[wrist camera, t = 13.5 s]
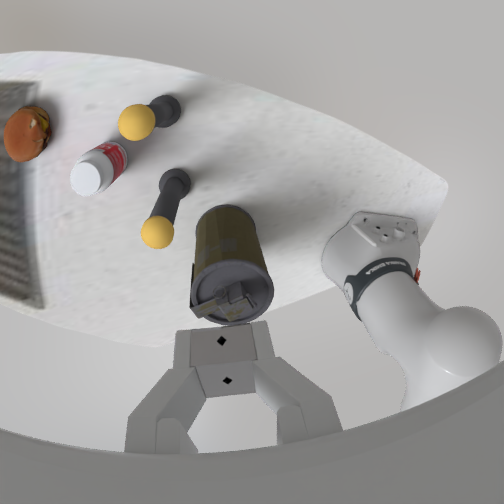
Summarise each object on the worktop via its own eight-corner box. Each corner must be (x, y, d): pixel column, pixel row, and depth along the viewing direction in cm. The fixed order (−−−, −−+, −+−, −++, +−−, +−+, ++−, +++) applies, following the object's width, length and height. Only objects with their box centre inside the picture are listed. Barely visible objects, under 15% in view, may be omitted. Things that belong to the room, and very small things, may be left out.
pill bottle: (120, 135, 40) (95, 148, 31) (133, 169, 43) (113, 192, 34) (88, 150, 40) (58, 168, 31) (101, 182, 44) (76, 208, 34)
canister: (240, 194, 48) (257, 258, 31) (264, 243, 53) (290, 320, 36) (182, 222, 49) (169, 298, 32) (211, 267, 55) (213, 350, 38)
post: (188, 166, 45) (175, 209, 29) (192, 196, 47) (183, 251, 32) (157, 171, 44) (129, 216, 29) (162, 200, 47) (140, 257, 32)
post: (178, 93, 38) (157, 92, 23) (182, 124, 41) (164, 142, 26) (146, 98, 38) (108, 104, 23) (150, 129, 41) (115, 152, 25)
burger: (6, 139, 36) (-9, 145, 32) (28, 96, 33) (13, 98, 29) (38, 168, 40) (25, 176, 36) (62, 124, 37) (49, 129, 33)
